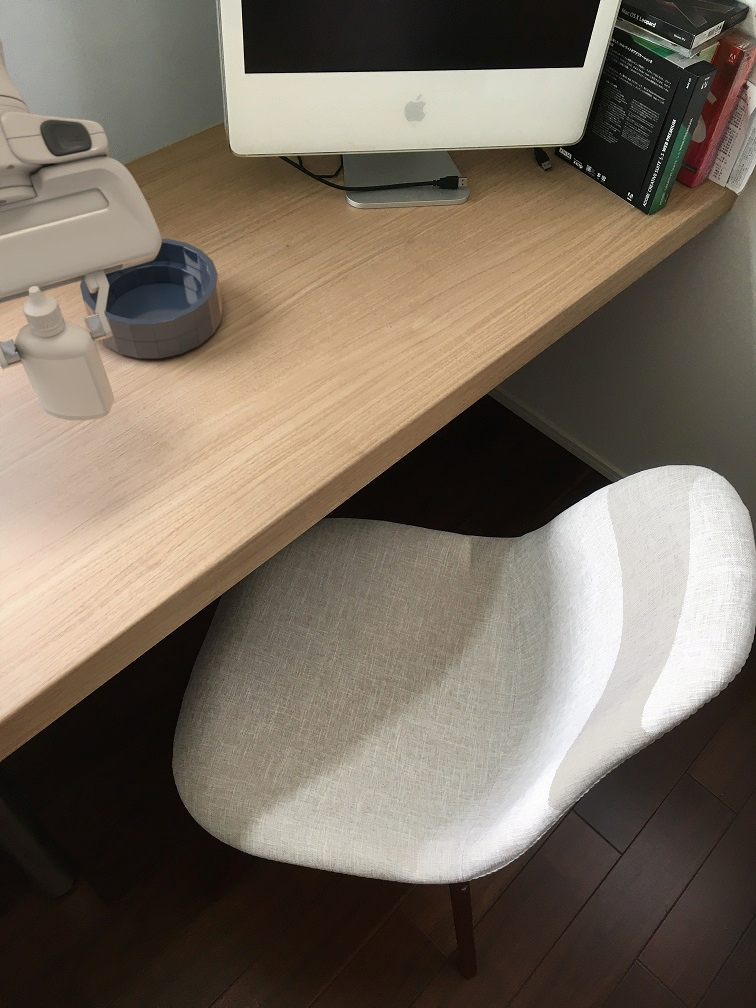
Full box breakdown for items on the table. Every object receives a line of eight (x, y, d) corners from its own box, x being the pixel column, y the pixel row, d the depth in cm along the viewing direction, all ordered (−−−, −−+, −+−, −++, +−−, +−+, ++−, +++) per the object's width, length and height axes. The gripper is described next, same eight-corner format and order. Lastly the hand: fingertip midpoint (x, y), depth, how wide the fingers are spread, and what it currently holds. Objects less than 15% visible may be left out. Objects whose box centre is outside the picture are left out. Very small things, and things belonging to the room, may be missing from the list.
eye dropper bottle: (85, 437, 63) (39, 322, 53) (35, 408, 64) (-20, 291, 55) (124, 404, 65) (85, 287, 55) (74, 376, 67) (28, 258, 57)
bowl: (104, 375, 85) (91, 336, 80) (84, 291, 93) (71, 251, 88) (236, 346, 88) (231, 307, 84) (206, 267, 96) (200, 228, 92)
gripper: (-192, 188, 50) (-96, 395, 53) (122, 118, 56) (192, 307, 59) (-165, 212, 56) (-80, 397, 59) (117, 146, 62) (181, 317, 65)
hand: (59, 352), depth 59 cm, fingers closed on eye dropper bottle, 5 cm apart
